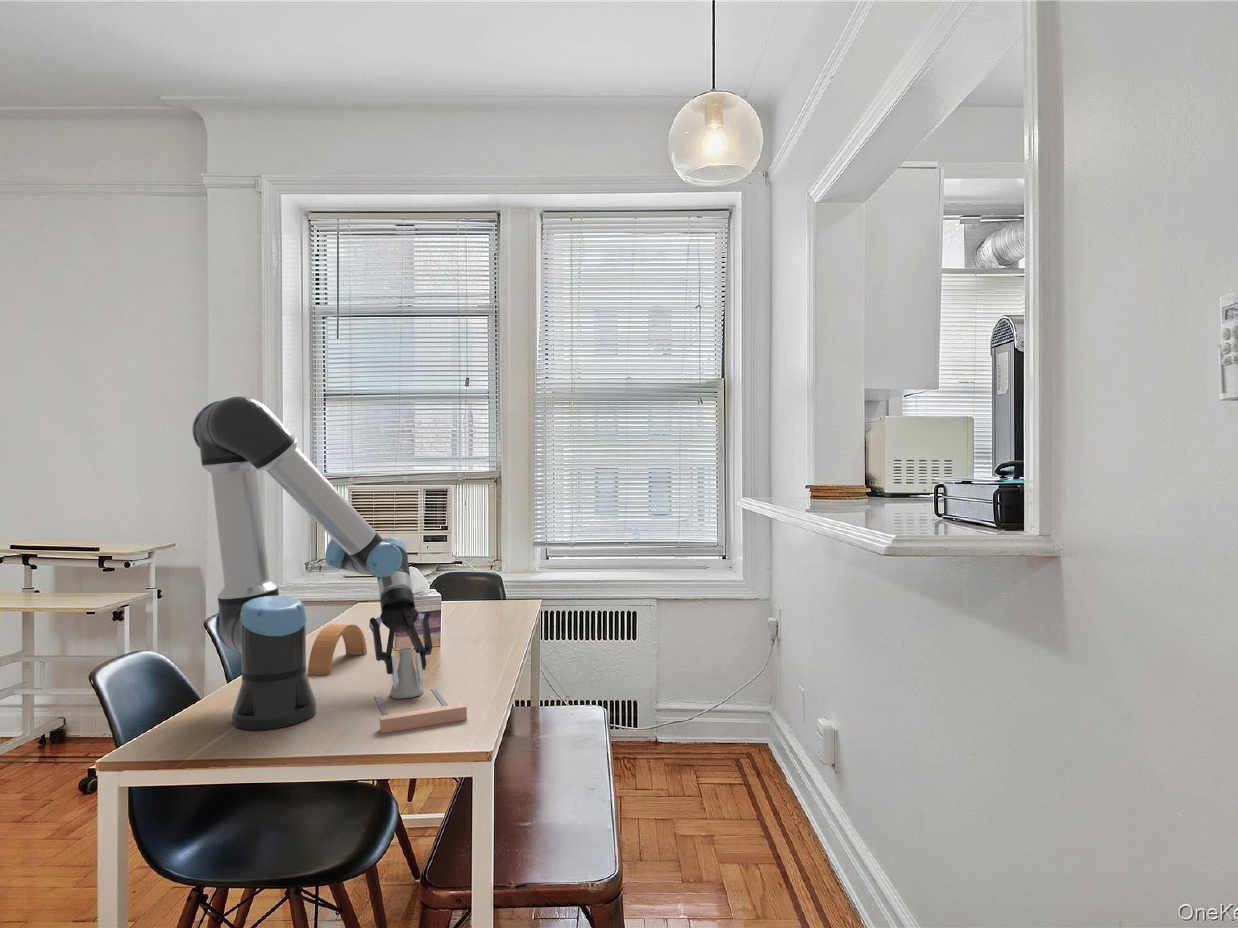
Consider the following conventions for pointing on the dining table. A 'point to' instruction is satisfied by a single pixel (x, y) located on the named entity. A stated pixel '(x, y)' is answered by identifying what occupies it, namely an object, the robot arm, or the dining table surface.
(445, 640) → the dining table surface
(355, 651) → the arch
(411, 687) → the flask
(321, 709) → the dining table surface
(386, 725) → the stop bar lane
